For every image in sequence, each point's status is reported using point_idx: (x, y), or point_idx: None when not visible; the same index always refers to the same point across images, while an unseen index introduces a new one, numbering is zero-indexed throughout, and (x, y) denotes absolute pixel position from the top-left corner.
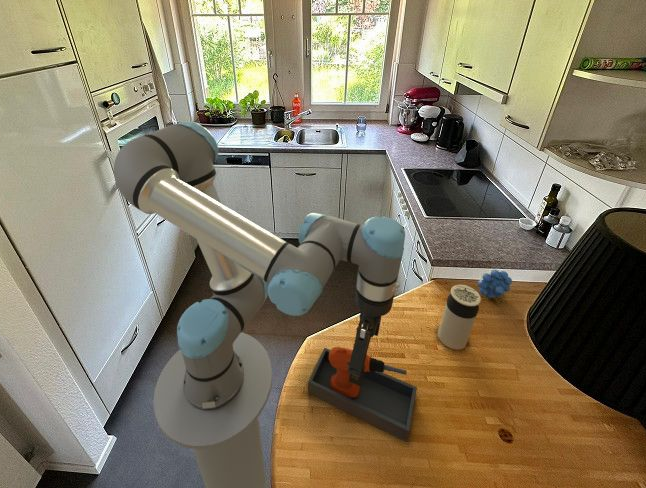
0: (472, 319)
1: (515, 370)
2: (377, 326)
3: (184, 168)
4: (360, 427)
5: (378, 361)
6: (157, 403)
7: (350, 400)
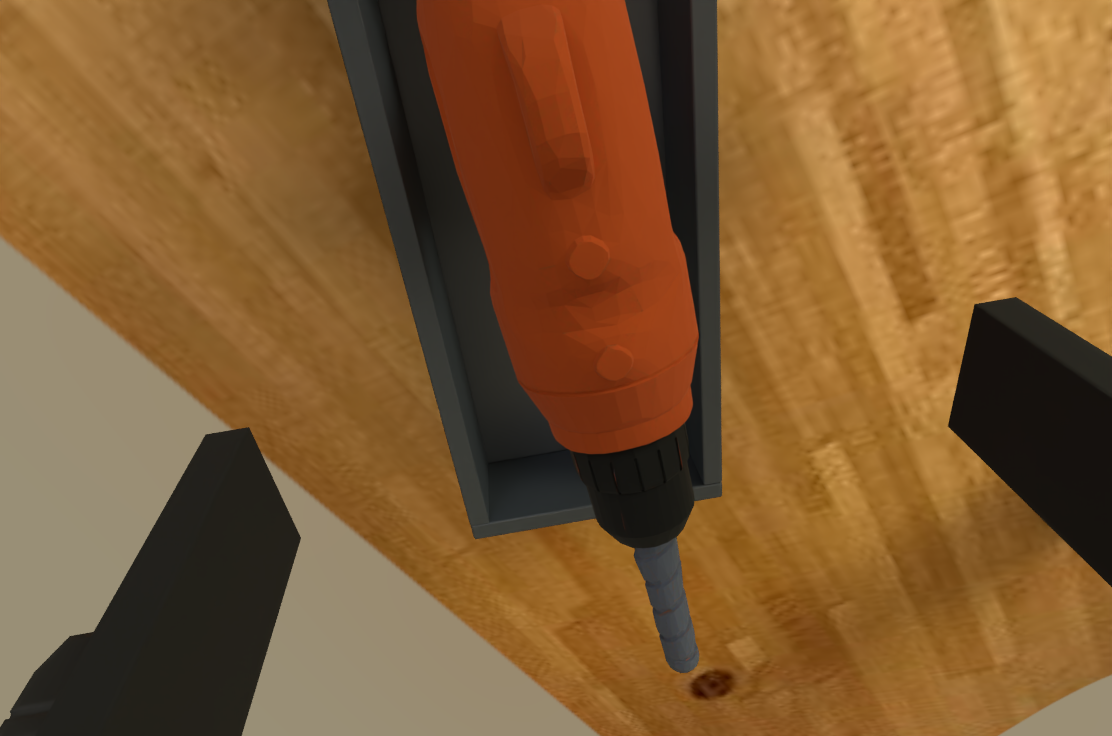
0: None
1: (988, 666)
2: (1084, 532)
3: None
4: (383, 281)
5: (659, 508)
6: None
7: (403, 227)
